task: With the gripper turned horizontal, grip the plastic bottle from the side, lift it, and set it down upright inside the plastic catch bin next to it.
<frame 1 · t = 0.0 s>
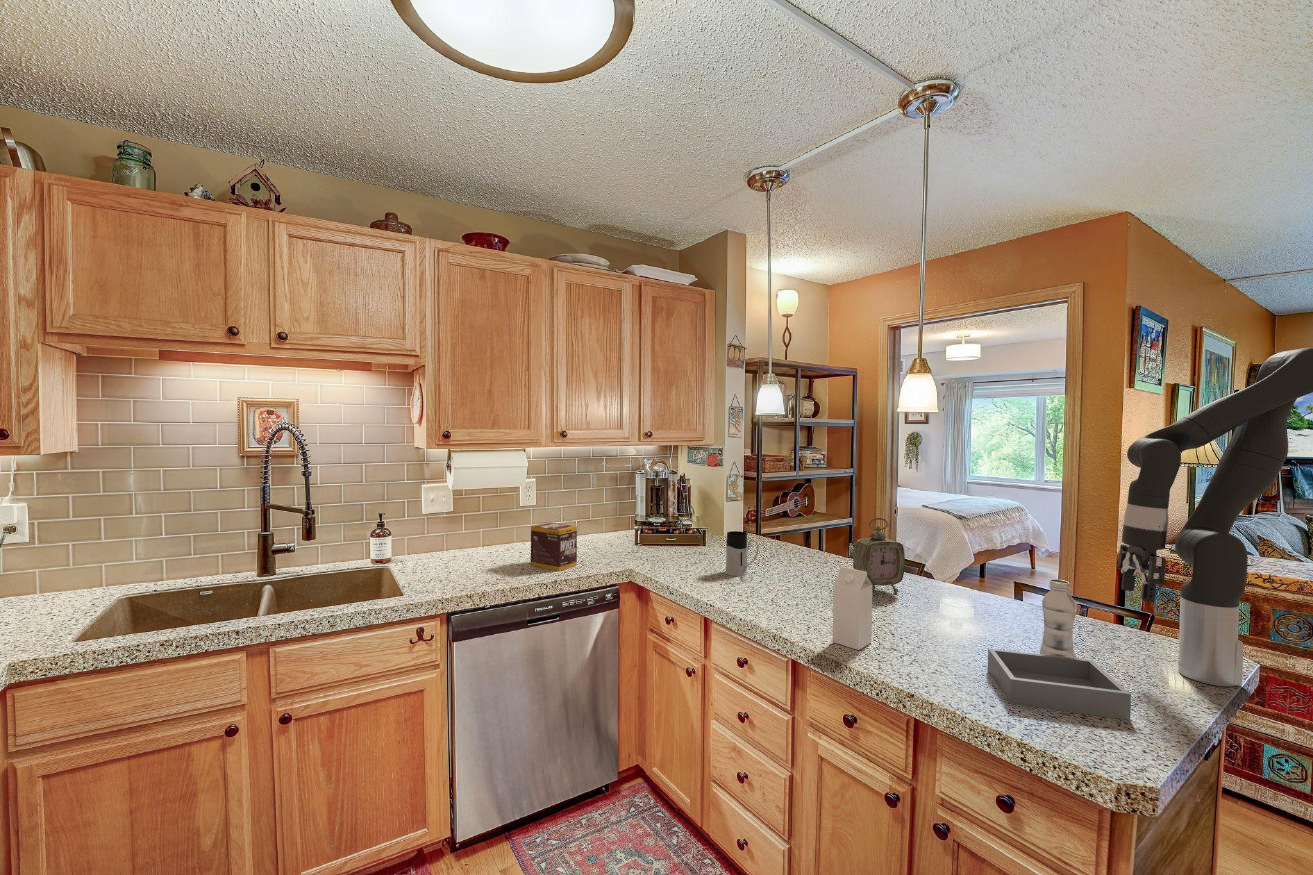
hand: (1137, 595, 127), 17 cm above the table, tool pointing down, fingers open, 8 cm apart
catch bin: (1052, 692, 116), on the table
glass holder: (742, 574, 205), on the table
milk carton: (851, 643, 141), on the table
supplement box: (553, 566, 216), on the table
tabletop clock: (876, 592, 185), on the table
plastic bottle: (1056, 667, 128), on the table
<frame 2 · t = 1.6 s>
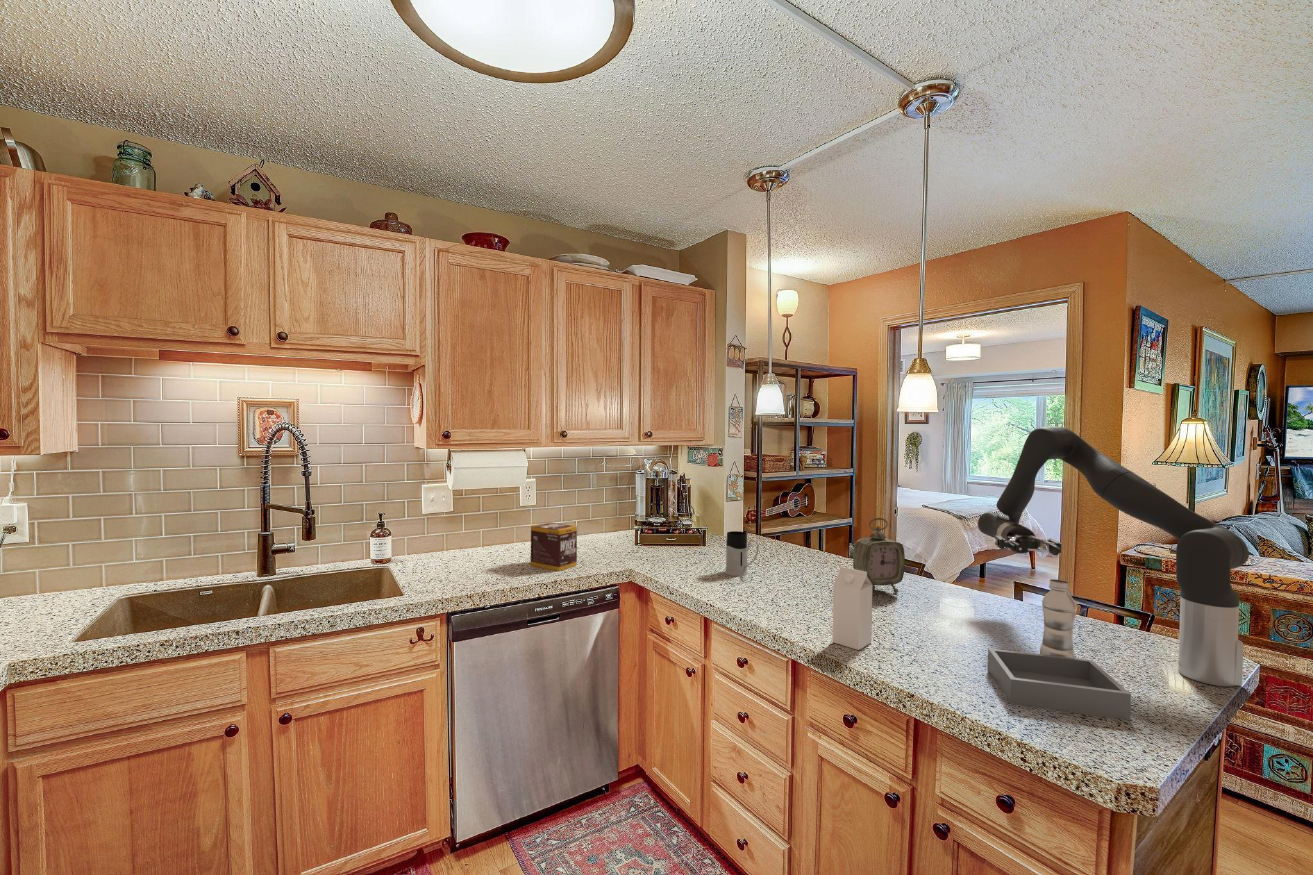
hand: (1037, 550, 141), 24 cm above the table, tool horizontal, fingers open, 8 cm apart
nothing on the table moved.
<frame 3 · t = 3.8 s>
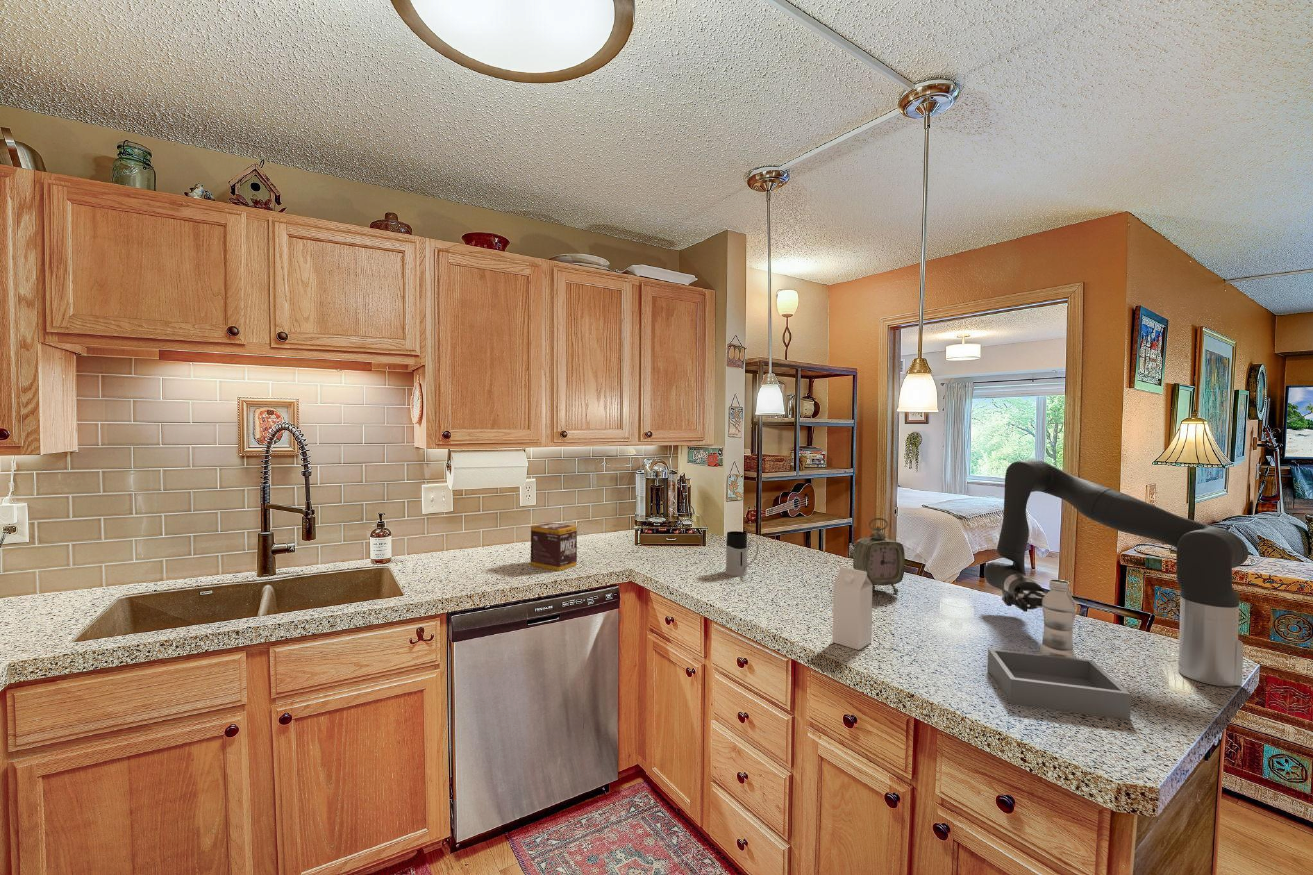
hand: (1046, 609, 135), 11 cm above the table, tool horizontal, fingers open, 8 cm apart
nothing on the table moved.
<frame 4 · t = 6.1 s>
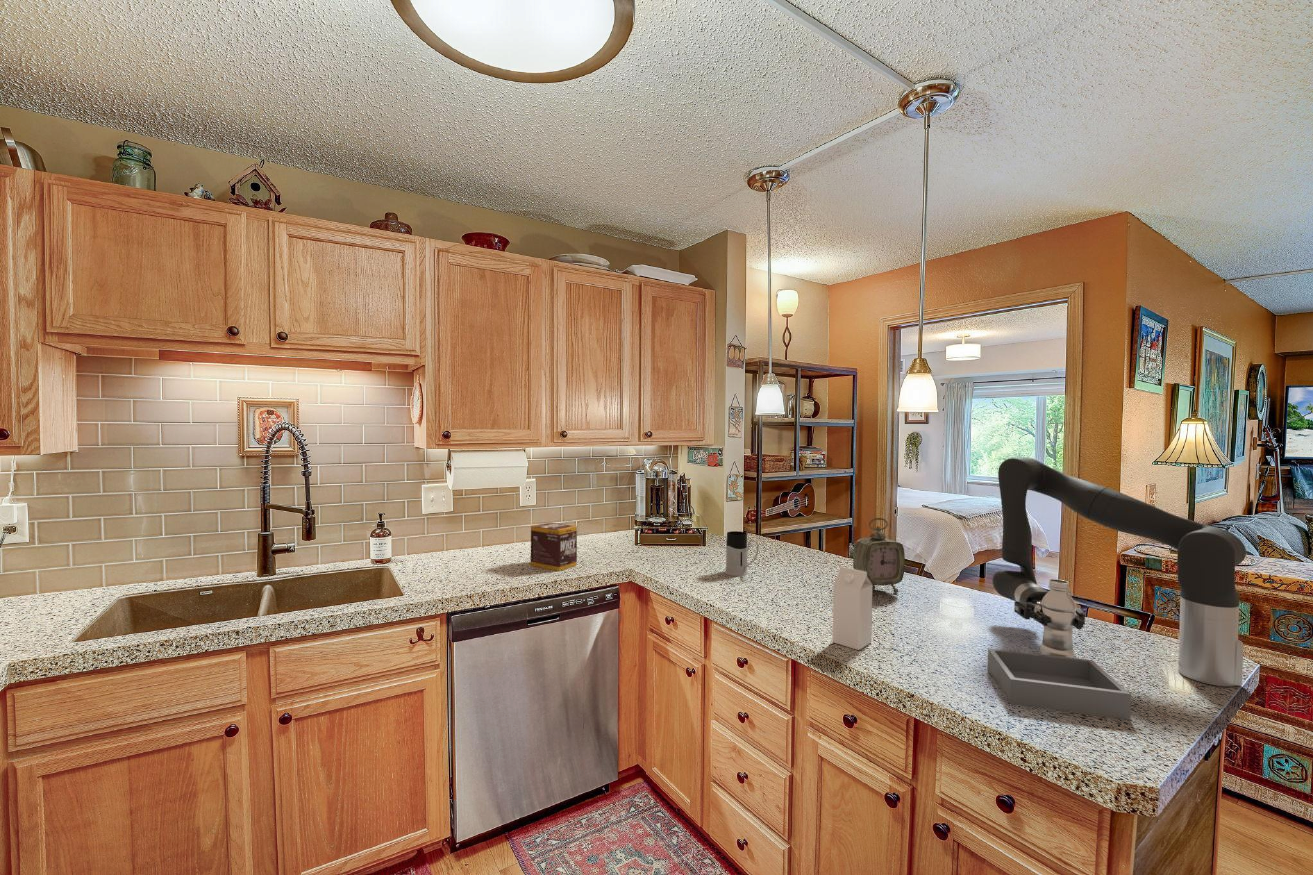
hand: (1062, 623, 126), 11 cm above the table, tool horizontal, fingers closed on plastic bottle, 6 cm apart
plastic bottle: (1057, 667, 128), on the table, touching gripper
everything else where it was.
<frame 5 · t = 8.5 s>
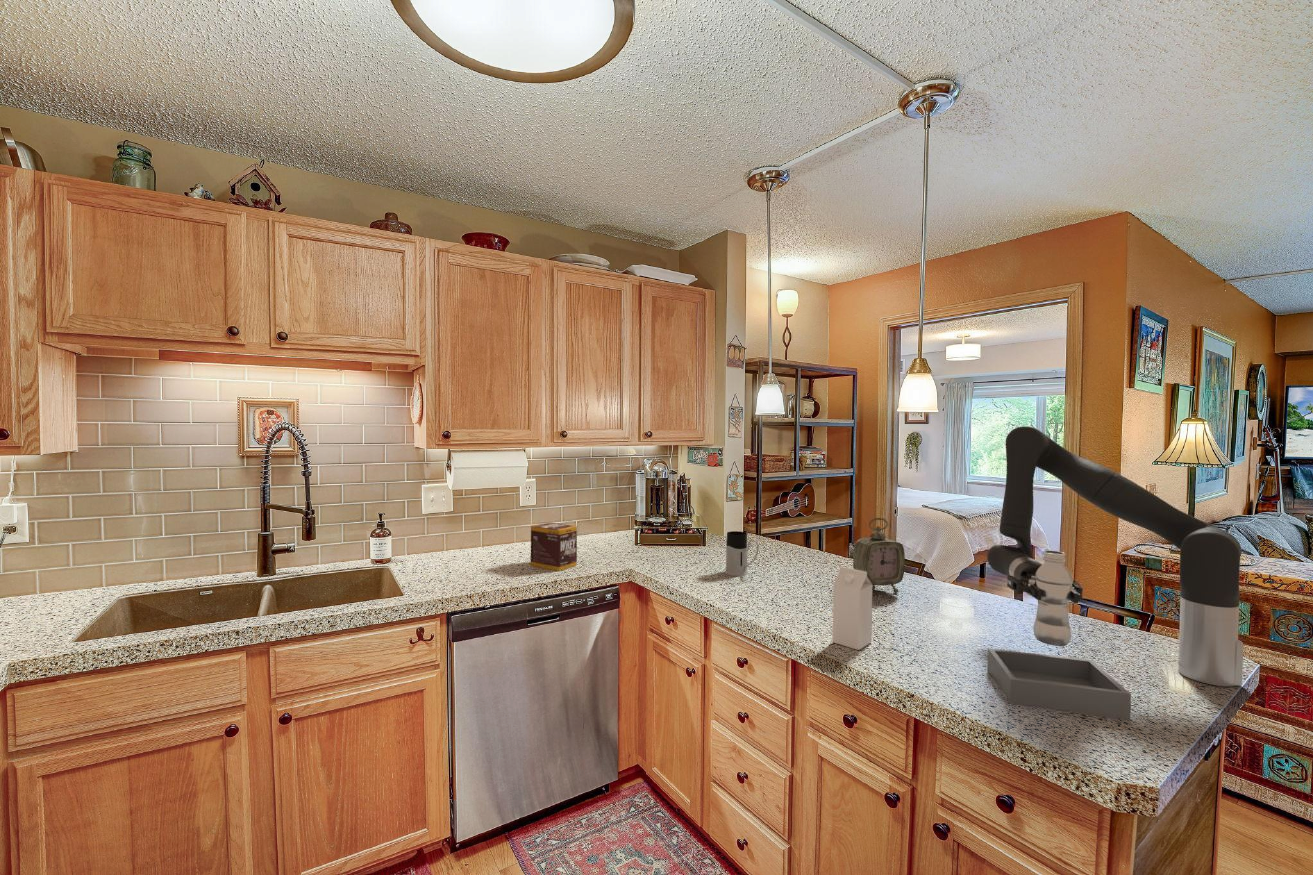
hand: (1057, 596, 117), 20 cm above the table, tool horizontal, fingers closed on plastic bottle, 6 cm apart
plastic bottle: (1051, 644, 120), point 9 cm above the table, touching gripper
everything else where it was.
when the fingers open (13 cm above the table, at t = 11.0 s): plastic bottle drops 1 cm, resting on catch bin.
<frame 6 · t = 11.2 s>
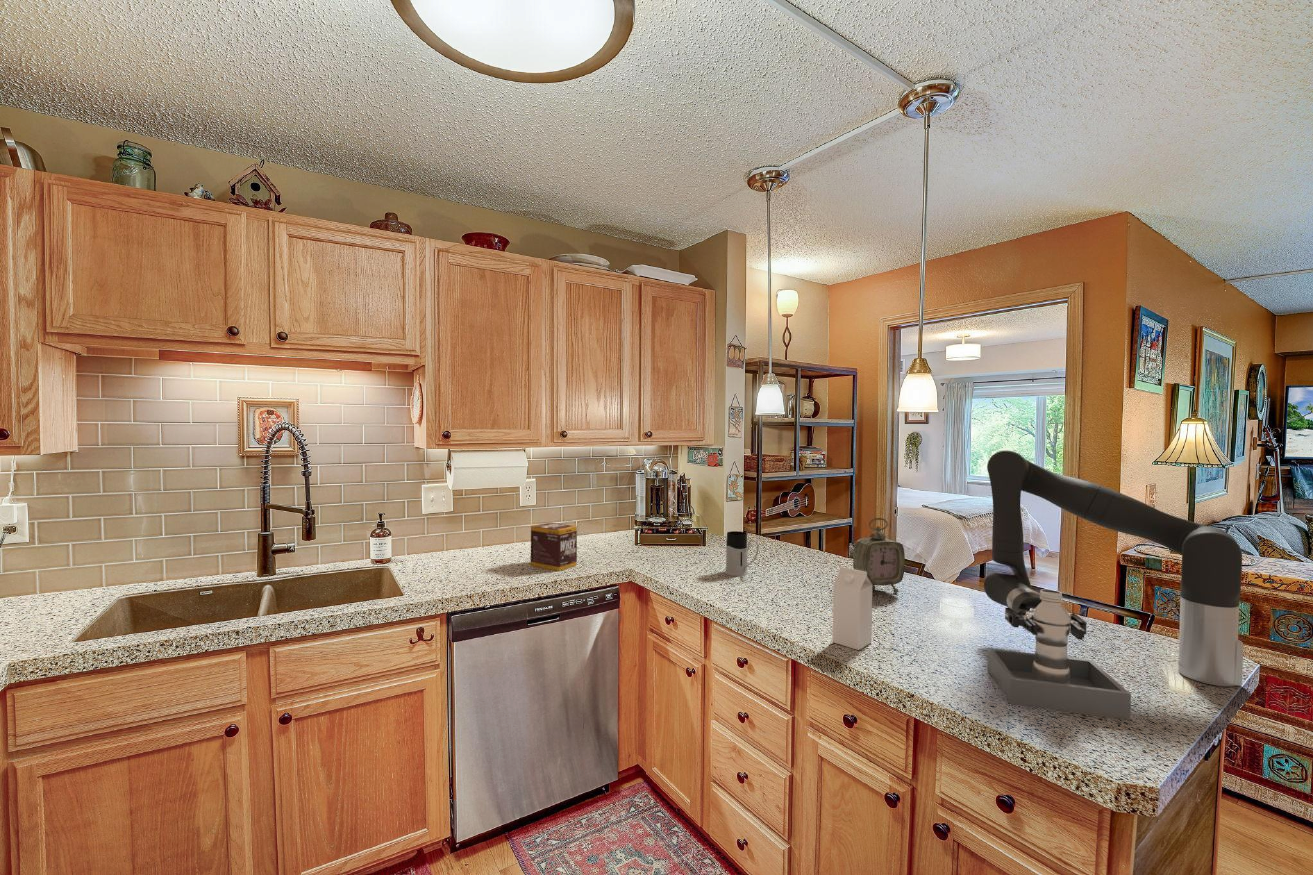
hand: (1058, 632, 113), 13 cm above the table, tool horizontal, fingers open, 7 cm apart
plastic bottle: (1051, 687, 116), point 1 cm above the table, touching catch bin
everything else where it was.
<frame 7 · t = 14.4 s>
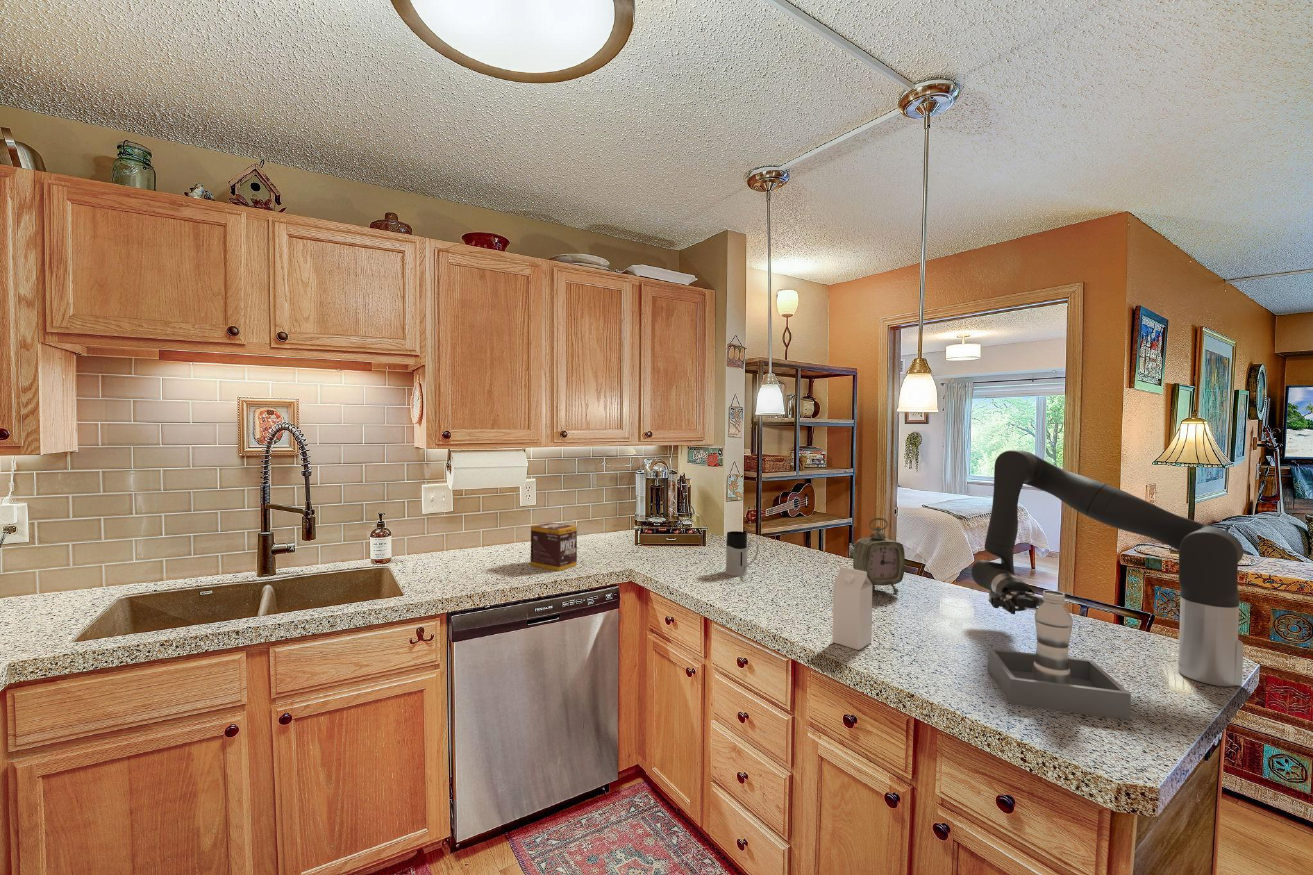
hand: (1035, 611, 126), 13 cm above the table, tool horizontal, fingers open, 8 cm apart
nothing on the table moved.
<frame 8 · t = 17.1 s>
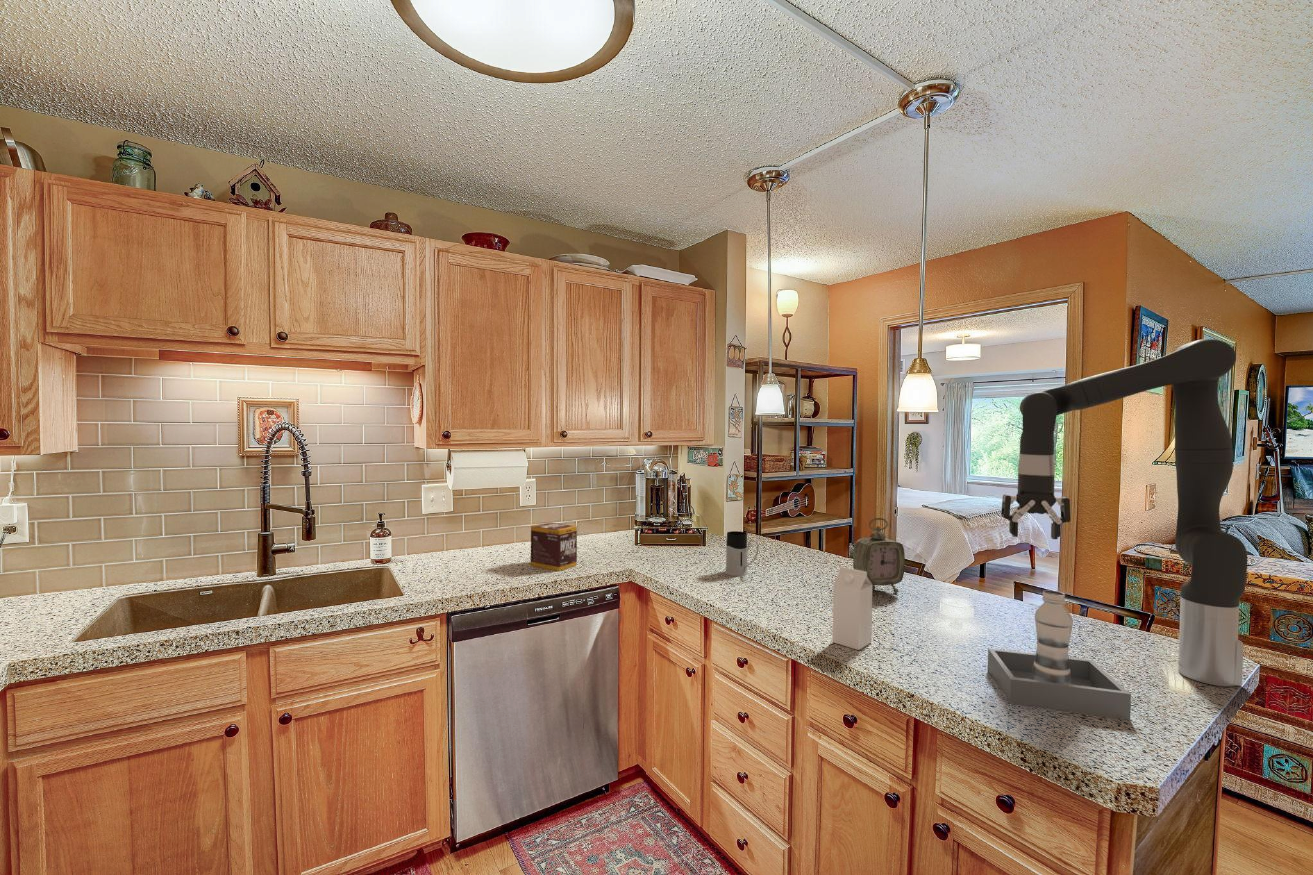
hand: (1034, 537, 138), 28 cm above the table, tool pointing down, fingers open, 8 cm apart
nothing on the table moved.
at the end: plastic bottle inside the target area on the catch bin (0.3 cm from its centre), point 0.8 cm above the catch bin's base; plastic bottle tilted 0°; the gripper is holding nothing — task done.
